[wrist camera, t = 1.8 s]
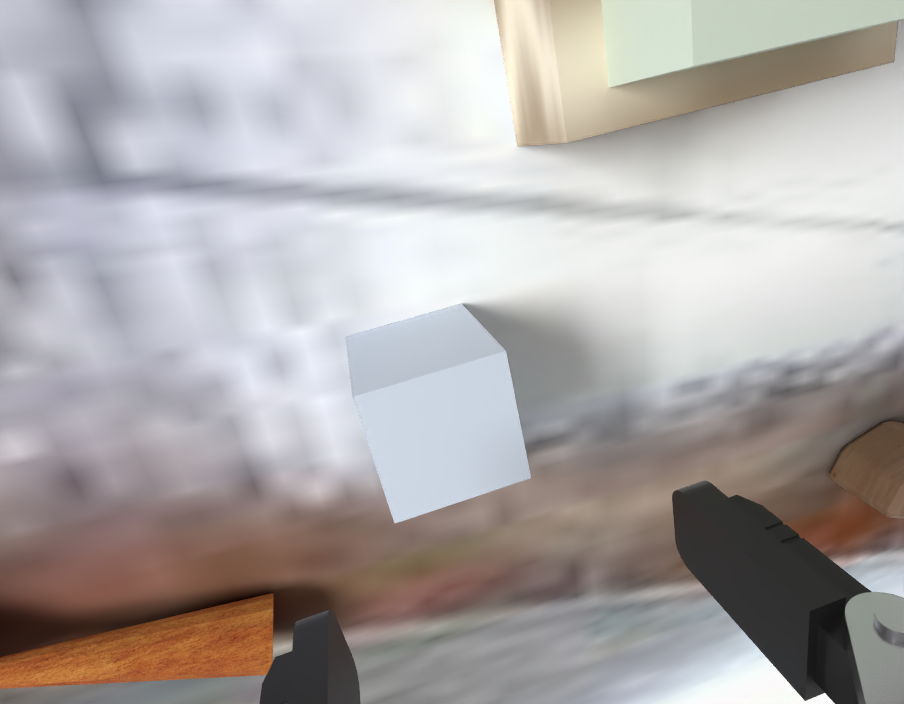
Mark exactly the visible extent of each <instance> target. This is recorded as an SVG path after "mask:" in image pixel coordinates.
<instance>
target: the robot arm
mask: <svg viewBox="0 0 904 704" xmlns="http://www.w3.org/2000/svg"><path fill="white" fill-rule="evenodd" d="M672 502H673V514H674V527H675V540H676V545H677V549H678V551H679V554H680V556H681V558H682V560H683V562H684V563H685V565H686V566H687V568H688V569H689V570H690V571H691V572H692V574H693V575H694V576H695V577H696V578H697V579H698V580H699V581H700V583H701V584H702V585H703V586H704V587H705V588H706V589H707V590H708V592H709V593H710V594H711V595H712V596H713V597H714V598H715V600H716V601H717V602H718V603H719V604H720V605H721V606H722V607H723V609H724V610H725V611H726V612H727V613H728V614H729V615H730V617H731V618H732V619H733V620H734V621H735V622H736V623H737V624H738V626H739V627H740V628H741V629H742V630H743V631H744V632H745V633H746V635H747V636H748V637H749V638H750V639H751V640H752V641H753V643H754V644H755V645H756V646H757V647H758V648H759V649H760V650H761V652H762V653H763V654H764V655H765V656H766V657H767V658H768V659H769V661H770V662H771V663H772V664H773V665H774V666H775V667H776V669H777V670H778V671H779V672H780V673H781V674H782V675H783V676H784V678H785V679H786V680H787V681H788V682H789V683H790V684H791V685H792V687H793V688H794V689H795V690H796V691H797V692H798V693H799V695H800V696H801V697H802V698H803V699H804V700H805V701H806V700H808V699H811V698H813V697H816V696H818V695H820V694H823V693H826V694H827V695H828V697H829V698H830V699H831V700H832V701H833V702H834V703H835V704H904V598H903V597H900V596H897V595H893V594H888V593H882V592H871V591H870V590H868V589H867V588H866V587H864V586H863V585H862V584H861V583H859V582H858V581H857V580H856V579H854V578H853V577H852V576H851V575H849V574H848V573H847V572H845V571H844V570H843V569H842V568H840V567H839V566H838V565H837V564H835V563H834V562H833V561H832V560H830V559H829V558H828V557H827V556H825V555H824V554H823V553H821V552H820V551H819V550H818V549H816V548H815V547H814V546H813V545H811V544H810V543H809V542H808V541H806V540H805V539H804V538H802V539H801V538H800V537H799V534H797V533H796V532H795V531H794V530H792V529H791V528H790V527H789V526H787V525H784V524H783V523H782V521H781V520H780V519H779V518H777V517H776V516H775V515H773V514H772V513H771V512H770V511H768V510H767V509H766V508H765V507H763V506H762V505H760V504H757V503H755V502H753V501H750V500H748V499H746V498H743V497H741V496H738V495H735V496H732V497H729V498H728V497H727V496H726V495H725V494H723V493H722V492H721V491H720V490H719V489H717V488H716V487H715V486H714V485H713V484H711V483H710V482H708V481H702V482H699V483H696V484H693V485H690V486H687V487H684V488H681V489H679V490H676V491H674V492H673V495H672ZM260 704H360V690H359V681H358V675H357V670H356V666H355V663H354V659H353V657H352V654H351V652H350V649H349V647H348V645H347V642H346V640H345V638H344V635H343V633H342V631H341V628H340V626H339V624H338V621H337V619H336V616H335V614H334V612H333V611H332V610H327V611H325V612H322V613H319V614H316V615H313V616H310V617H307V618H304V619H302V620H299V621H297V622H296V623H295V626H294V637H293V650H292V651H291V652H289V653H286V654H283V655H280V656H277V657H275V659H274V661H273V663H272V665H271V667H270V669H269V671H268V673H267V675H266V677H265V679H264V681H263V683H262V689H261V697H260Z"/></svg>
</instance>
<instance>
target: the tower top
mask: <svg viewBox="0 0 904 704" xmlns="http://www.w3.org/2000/svg"><path fill="white" fill-rule="evenodd" d="M601 4H602V16H603V27H604V39H605V50H606V62H607V73H608V85H609V88H610V87H614V86H618V85H623V84H627V83H632V82H636V81H640V80H645V79H649V78H653V77H658V76H662V75H666V74H671V73H675V72H680V71H684V70H688V69H693V68H697V67H701V66H706V65H710V64H714V63H719V62H723V61H728V60H732V59H736V58H741V57H745V56H749V55H754V54H758V53H763V52H767V51H771V50H776V49H780V48H784V47H789V46H793V45H797V44H802V43H806V42H811V41H815V40H819V39H824V38H828V37H832V36H837V35H841V34H845V33H850V32H854V31H859V30H863V29H867V28H871V27H875V26H879V25H883V24H888V23H892V22H896V21H900V20H904V0H601Z"/></svg>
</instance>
